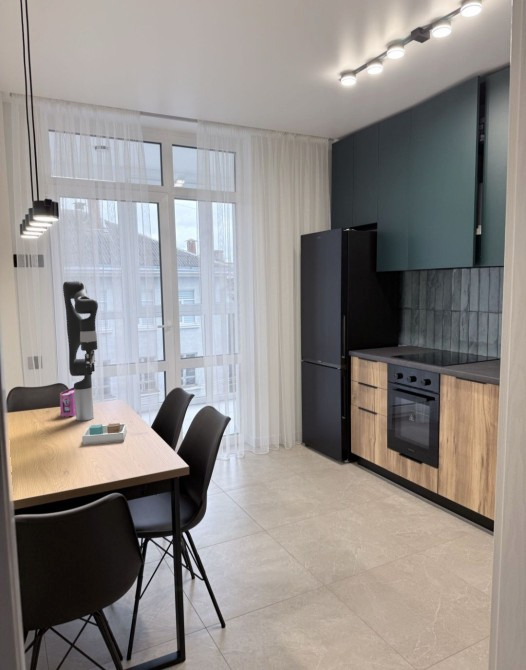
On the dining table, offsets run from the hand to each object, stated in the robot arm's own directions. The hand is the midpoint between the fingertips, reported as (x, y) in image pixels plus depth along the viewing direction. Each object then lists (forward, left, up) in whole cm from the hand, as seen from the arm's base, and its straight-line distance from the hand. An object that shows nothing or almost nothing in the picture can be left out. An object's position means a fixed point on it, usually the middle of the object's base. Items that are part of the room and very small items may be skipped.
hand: (91, 373), depth 230 cm
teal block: (+12, +2, -29) cm, 31 cm away
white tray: (+12, +6, -30) cm, 32 cm away
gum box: (-48, -18, -30) cm, 59 cm away
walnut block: (+12, +10, -29) cm, 33 cm away
